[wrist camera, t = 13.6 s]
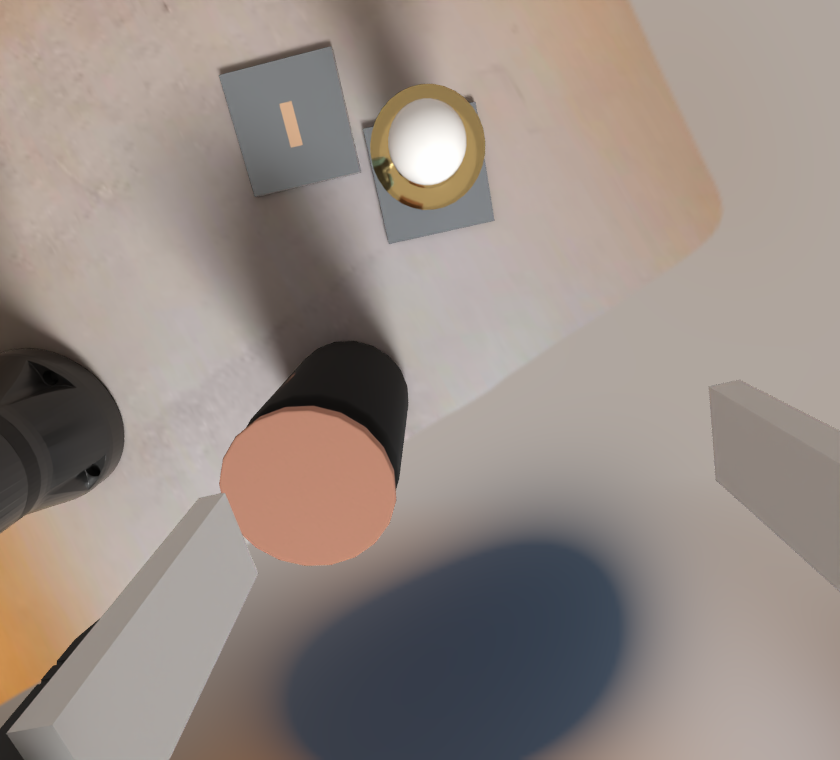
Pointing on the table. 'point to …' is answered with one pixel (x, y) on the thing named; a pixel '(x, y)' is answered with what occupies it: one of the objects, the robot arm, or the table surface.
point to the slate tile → (291, 122)
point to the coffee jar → (321, 458)
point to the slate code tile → (421, 223)
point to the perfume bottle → (427, 146)
